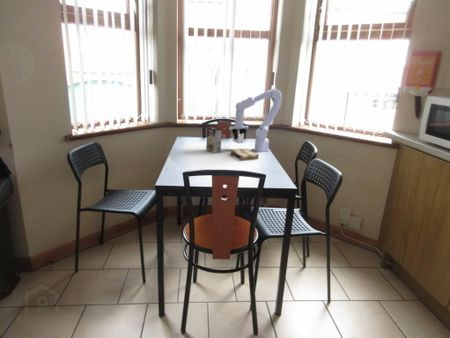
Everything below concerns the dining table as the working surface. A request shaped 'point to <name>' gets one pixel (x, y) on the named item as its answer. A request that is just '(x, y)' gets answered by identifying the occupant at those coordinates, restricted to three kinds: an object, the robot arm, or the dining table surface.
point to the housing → (239, 138)
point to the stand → (245, 154)
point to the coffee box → (214, 139)
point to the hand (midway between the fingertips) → (238, 139)
